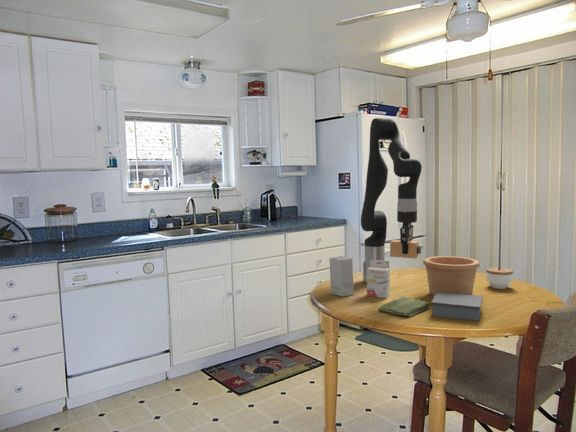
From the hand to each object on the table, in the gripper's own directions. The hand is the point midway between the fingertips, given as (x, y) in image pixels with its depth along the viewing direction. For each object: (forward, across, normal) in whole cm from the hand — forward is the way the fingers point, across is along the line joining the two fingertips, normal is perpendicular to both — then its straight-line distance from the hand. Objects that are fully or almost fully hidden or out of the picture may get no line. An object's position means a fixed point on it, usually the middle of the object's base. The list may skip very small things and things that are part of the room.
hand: (406, 252), depth 181 cm
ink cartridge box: (+20, -2, -12) cm, 23 cm away
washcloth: (+20, +14, +2) cm, 24 cm away
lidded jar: (+19, -36, +33) cm, 53 cm away
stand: (+19, +10, +20) cm, 30 cm away
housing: (+2, 0, -1) cm, 2 cm away
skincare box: (+20, +1, -27) cm, 33 cm away
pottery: (+19, -15, +15) cm, 29 cm away
